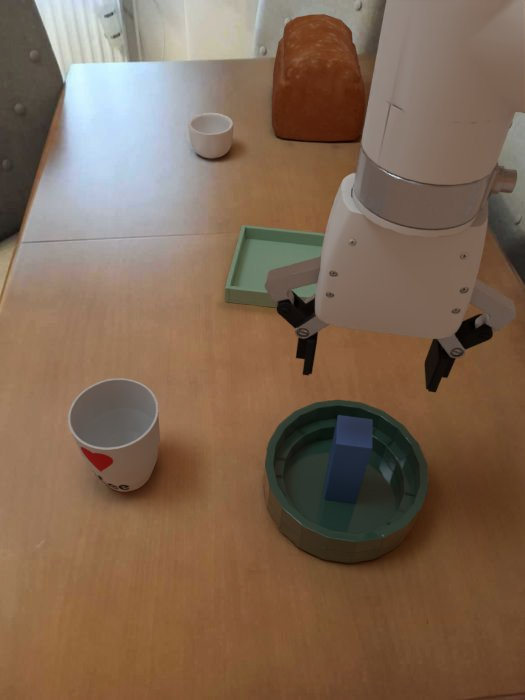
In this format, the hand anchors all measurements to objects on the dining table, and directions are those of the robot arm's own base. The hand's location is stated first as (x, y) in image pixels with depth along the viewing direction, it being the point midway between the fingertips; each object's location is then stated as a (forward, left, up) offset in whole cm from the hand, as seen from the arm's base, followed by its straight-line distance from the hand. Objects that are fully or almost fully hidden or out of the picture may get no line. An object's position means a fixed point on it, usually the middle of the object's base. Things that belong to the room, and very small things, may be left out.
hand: (368, 370), depth 47 cm
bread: (+9, -83, -19) cm, 86 cm away
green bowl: (0, 0, -19) cm, 19 cm away
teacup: (+26, -65, -19) cm, 72 cm away
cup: (+22, +1, -19) cm, 29 cm away
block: (0, 0, -18) cm, 18 cm away
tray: (+7, -33, -19) cm, 39 cm away
